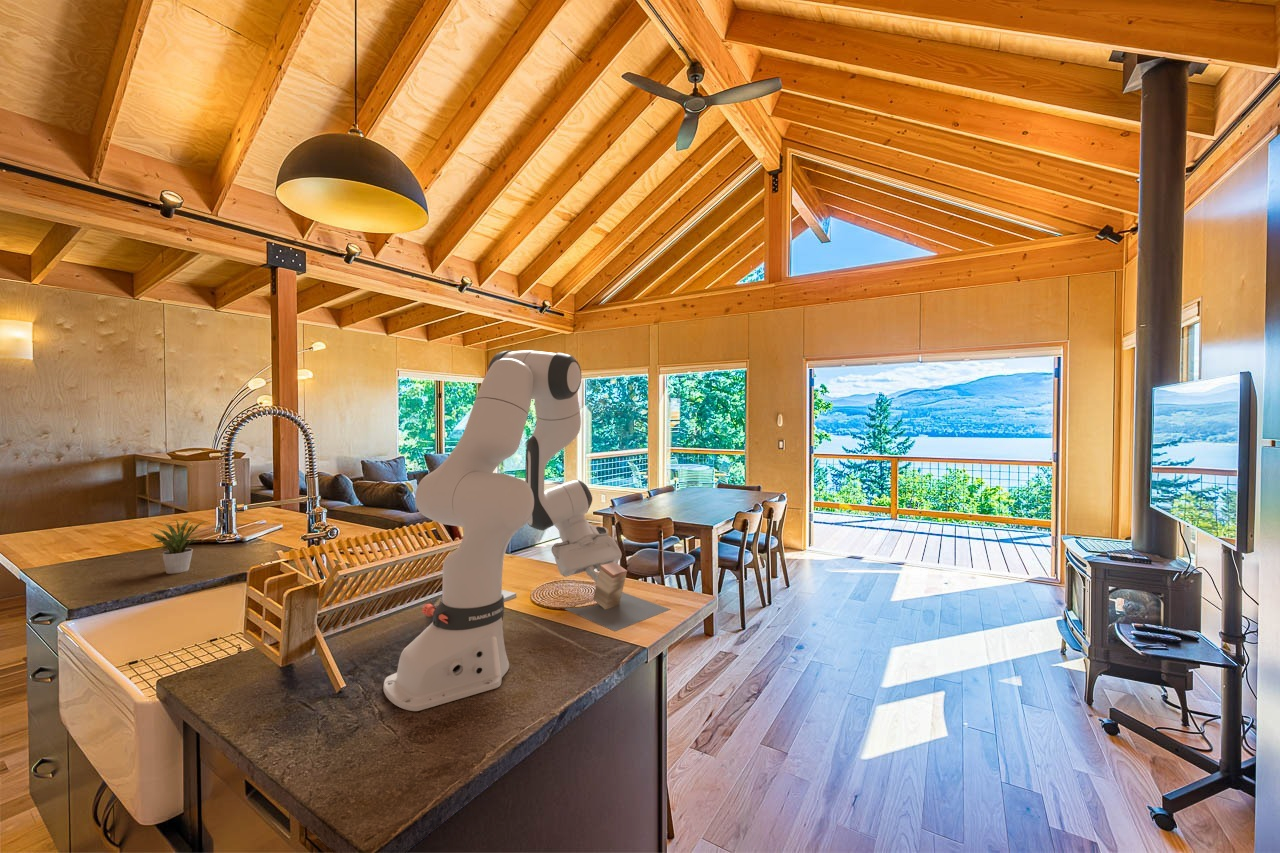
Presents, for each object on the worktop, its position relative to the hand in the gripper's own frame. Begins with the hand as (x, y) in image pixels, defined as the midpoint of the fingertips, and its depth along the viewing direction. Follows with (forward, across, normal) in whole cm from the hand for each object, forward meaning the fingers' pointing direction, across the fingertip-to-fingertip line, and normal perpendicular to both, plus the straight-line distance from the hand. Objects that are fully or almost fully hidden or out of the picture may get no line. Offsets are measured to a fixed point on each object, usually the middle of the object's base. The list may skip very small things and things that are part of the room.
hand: (602, 581), depth 136 cm
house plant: (-75, -74, +85) cm, 135 cm away
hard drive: (-12, -20, +22) cm, 32 cm away
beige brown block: (+5, 0, +2) cm, 5 cm away
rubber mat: (+9, 0, 0) cm, 9 cm away
